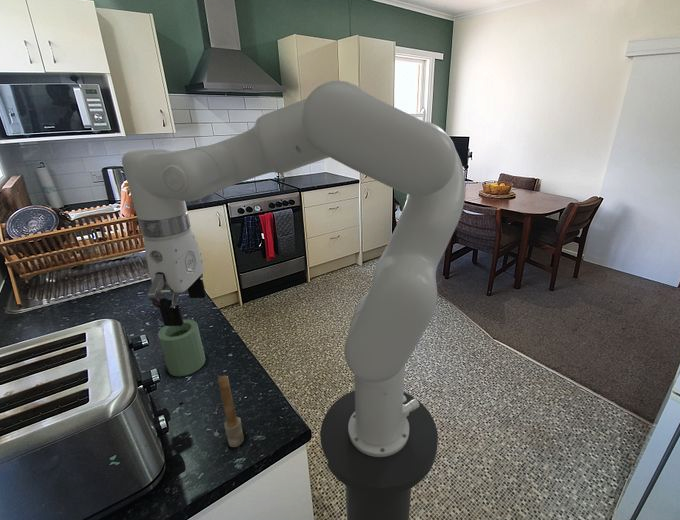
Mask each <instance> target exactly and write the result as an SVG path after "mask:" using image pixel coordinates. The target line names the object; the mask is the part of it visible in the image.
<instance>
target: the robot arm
mask: <svg viewBox="0 0 680 520" xmlns="http://www.w3.org/2000/svg"><path fill="white" fill-rule="evenodd" d="M329 158H330V159H332V160H333V161H337V162H338V163H339V164H342V165H343V166H346V167H348V169H349V168H350V169H352V170H354V171H356V172H358V173H360V174H362V175H364V176H366V177H369V178H371V179H372V180H374V181H376V182H379V183H381V184H383V185H385V186H387V187H389V188H391V189H393V190H395V191H398V192H401V193H403V194H406V195H407V196H406V199H405V203H404V205H403V208H402V210H401V213H400V214H399V218H398V220H397V223H396V226H395V227H394V230H393V232H392V234H391V236H390V238H389V240H388V242H387V244H386V246H385V248H384V250H383V252H382V254H381V255H380V257H379V259H378V260H377V263H376V265H375V267H374V273H373V276H372V281H371V284H370V288H369V290H368V292H367V293H365V294H364V295H363V296H362V297H361V298H360V299H359V300H358V302H357V304H356V306H355V309H354V310H353V313H352V317H351V321H350V324H349V328H348V331H347V336H346V340H345V342H344V350H343V351H344V352H343V353H344V360H345V363H346V364H347V366H348V369H349V370H350V371H351V372H352V374H353V376H354V390H355V412H354V413H353V414H352V416H351V417H350V420H349V424H348V433H349V437H350V440H351V442H352V443H353V445H354V446H355V447H356V448H357V449H358V450H359V451H361V452H362V453H364V454H367V455H369V456H374V457H386V456H390V455H393V454H395V453H397V452H399V451H400V450H401V449H402V448H403V447H404V446H405V444H406V443H407V440H408V437H409V423H408V420H407V418H406V417H407V416H408V415H409V413H410V412H411V411H414V410H415V409H417V408H419V402H420V401H419V400H418V399H417V398H416V399H417V400H418V401H419V402H418V401H417V400H416V399H413V400H411V401H410V402H408V403H407V404H406V405H404V404H403V403H404V402H406V401H407V399H406V397H405V396H404V395H403V392H405V391H404V388H405V374H406V373H405V372H406V364H407V362H408V361H409V359H410V357H411V356H412V354H413V352H414V351H415V349H416V347H417V345H418V344H419V342H420V340H421V338H422V337H423V335H424V334H425V331H426V329H428V326H429V324H430V323H431V320H432V318H433V317H434V314H435V310H436V308H437V307H436V306H437V303H438V284H437V269H438V267H439V264H440V262H441V259H442V257H443V255H444V254H445V251H446V250H447V248H448V246H449V243H450V242H451V239H452V237H453V234H454V232H455V231H456V228H457V226H458V224H459V221H460V219H461V216H462V213H463V209H464V204H465V198H466V180H465V173H464V168H463V163H462V160H461V158H460V155H459V153H458V151H457V149H456V147H455V144H454V141H453V139H451V137H450V136H449V135H448V133H446V131H445V130H444V129H443V128H442V127H440V126H438V125H437V124H434V123H432V122H430V121H424V120H423V119H420V118H418V117H417V116H416V117H415V116H414V115H411V114H409V113H407V112H405V111H403V110H401V109H399V108H397V107H395V106H393V105H391V104H388V102H387V103H386V102H385V101H383V100H381V99H379V98H376V97H375V96H373V95H371V94H370V93H368V92H367V91H366V90H365V89H363V87H360V86H359V85H356V84H354V83H351V82H348V81H345V80H331V81H327V82H324V83H321V84H320V85H318V86H317V87H315V88H314V89H313V90H311V92H310V93H309V95H308V96H307V97H306V98H304V99H302V100H299V101H296V102H294V103H291V104H289V105H286V106H283V107H280V108H278V109H276V110H272V111H269V112H267V113H265V114H263V115H261V116H259V117H258V118H257V119H256V120H255V124H254V126H253V127H251V128H250V129H247V130H246V131H244V132H241V133H239V134H237V135H235V136H232V137H229V138H226V139H224V140H220V141H219V142H215V143H211V144H209V145H202V146H197V147H192V148H187V149H182V150H176V151H170V150H169V149H168V150H167V149H161V148H151V149H149V148H148V149H137V150H132V151H127V152H126V153H124V154H123V155H122V157H121V164H122V168H123V173H124V176H125V178H126V182H127V183H126V184H127V185H128V186H127V187H128V190H129V192H130V197H131V201H132V204H133V208H134V211H135V214H136V218H137V223H138V226H139V229H140V233H141V236H142V238H143V239H144V240H143V243H144V253H145V259H146V265H147V269H148V273H149V278H150V281H151V285H150V287H149V290H148V292H147V298H148V299H149V301H150V302H151V303H152V305H153V306H154V307H156V309H159V311H160V315H161V318H162V321H163V325H164V326H182V325H183V323H184V322H183V320H184V318H183V314H182V310H181V307H180V304H177V302H178V295H179V294H183V293H185V292H187V294H188V297H189V299H205V298H206V297H207V293H206V289H205V285H204V284H205V283H204V279H203V278H204V270H205V267H204V262H203V258H202V253H201V250H200V247H199V243H198V241H197V238H196V234H195V232H194V229H193V228H192V226H191V222H190V216H189V213H188V212H189V211H188V209H187V204H186V202H195V201H198V200H201V199H203V198H206V197H208V196H210V195H213V194H215V193H217V192H219V191H222V190H226V189H227V188H230V187H232V186H235V185H237V184H240V183H242V182H247V181H248V180H251V179H254V178H256V177H260V176H263V175H267V174H270V173H276V174H284V173H288V172H291V171H294V170H296V169H300V168H302V167H305V166H308V165H312V164H313V163H317V162H320V161H323V160H325V159H329ZM169 288H170V289H169ZM166 295H170V298H169V299H168V298H166Z"/></svg>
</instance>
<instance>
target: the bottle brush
mask: <svg viewBox="0 0 680 520" xmlns="http://www.w3.org/2000/svg"><path fill="white" fill-rule="evenodd" d="M217 384H218V388H219V393H220V397H221V402H222V405H223V410H224V416H225V419H226V420H225V421H224V423H223V426H224V430H225V434H226V439H227V440H226V441H227V444H228V445H229V447H231V448H237V447H239V446H241V445H242V444H243V443H244V441H245V436H244V432H243V426H242V422H241V417H238V416H237V414H236V408H235V404H234V399H233V394H232V389H231V385H230V380H229V377H228V375H221V376H219V377H218V378H217Z"/></svg>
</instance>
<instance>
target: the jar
mask: <svg viewBox="0 0 680 520" xmlns="http://www.w3.org/2000/svg"><path fill="white" fill-rule="evenodd" d="M183 322H184V323H183V325H182V326H165V325H164V326H162V327H161V328H160V329H159V331H158V333H157V338H158V341H159V345H160V348H161V352H162V355H163V359H164V362H165V365H166V369H167V372H168V374H170V375H171V376H172V377H184V376H185V377H186V376H188V375H189V376H190V375H192V374H194V373H195V372H197V371H199V370H200V369H201V368H202V367H203V366H204V365H205V363H206V355H205V349H204V346H203V343H202V338H201V333H200V329H199V326H198V323H197V321H195V320H193V319H189V318H188V319H184V318H183Z"/></svg>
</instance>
